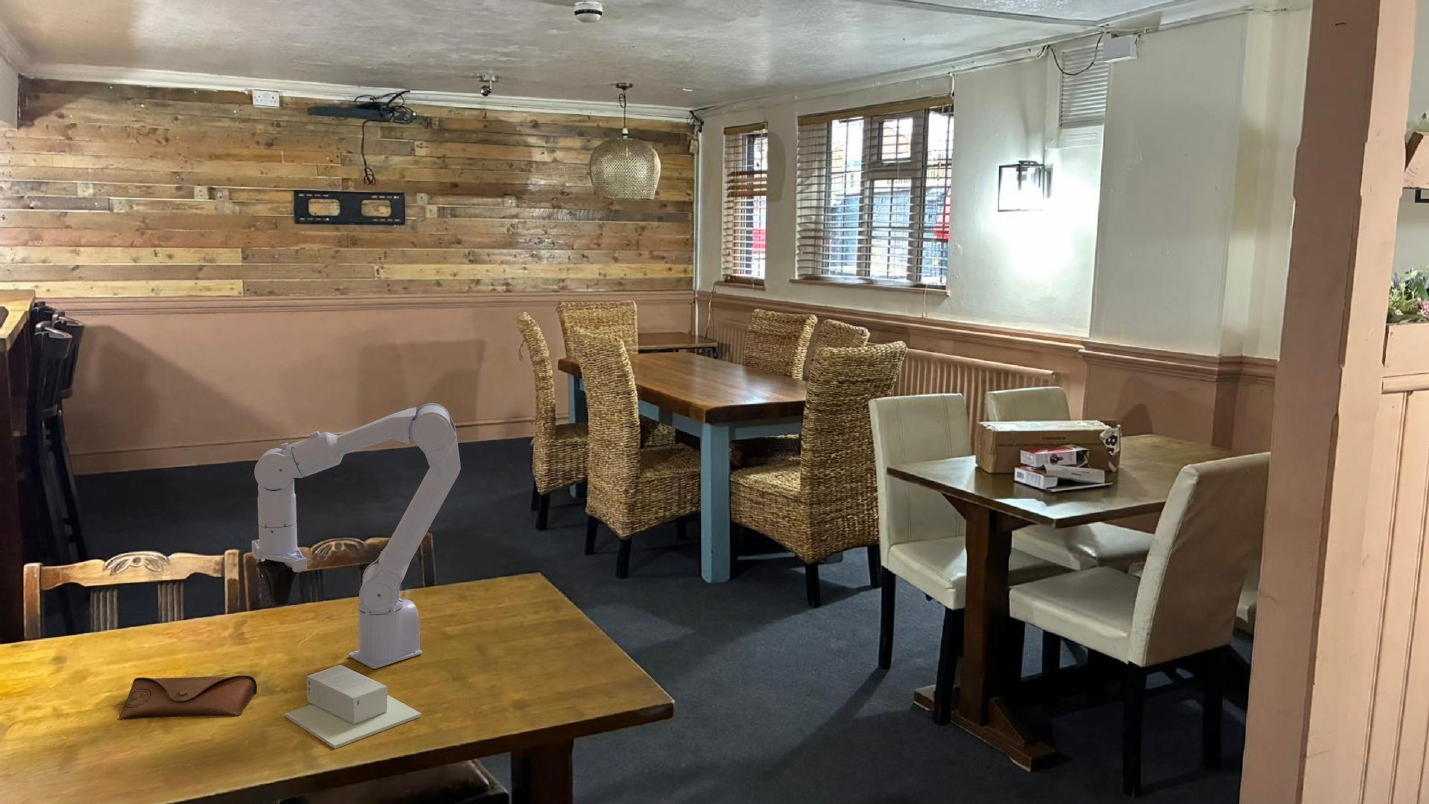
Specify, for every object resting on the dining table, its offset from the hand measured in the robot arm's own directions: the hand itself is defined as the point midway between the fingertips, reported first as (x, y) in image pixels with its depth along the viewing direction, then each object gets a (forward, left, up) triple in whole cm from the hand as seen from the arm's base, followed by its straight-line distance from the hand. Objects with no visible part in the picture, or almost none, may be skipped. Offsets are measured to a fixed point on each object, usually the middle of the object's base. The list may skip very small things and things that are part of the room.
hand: (280, 603), depth 172 cm
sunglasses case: (+17, +5, -11) cm, 21 cm away
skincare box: (+2, +17, -8) cm, 19 cm away
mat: (+2, +26, -10) cm, 28 cm away
